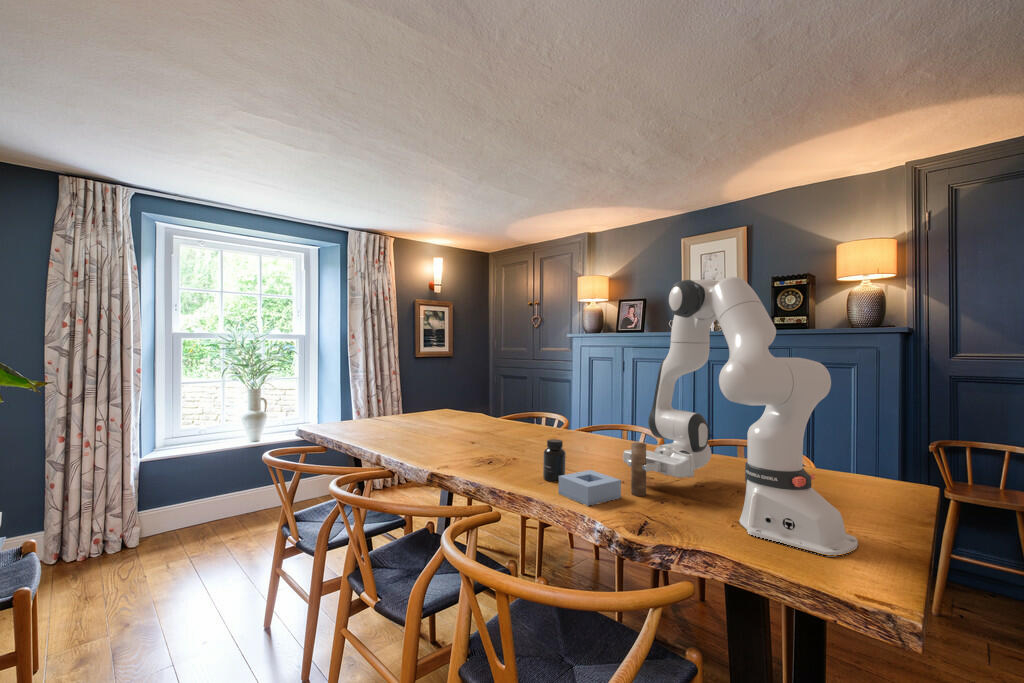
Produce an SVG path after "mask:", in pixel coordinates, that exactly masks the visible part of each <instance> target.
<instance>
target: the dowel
mask: <svg viewBox="0 0 1024 683" xmlns="http://www.w3.org/2000/svg"><path fill="white" fill-rule="evenodd" d="M630 445H631V446H630V447H631V449H630V450H631V473H630V476H631V482H630V483H631V484H630V487H631V489H630V490H631V495H632V496H635V497H645V496H646V495H647V471H644V470H642V468H643V467H642V465H643V464H645V463H646V450H647V443H644V442H638V441H637V442H632V443H630Z"/></svg>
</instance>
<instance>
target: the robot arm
mask: <svg viewBox="0 0 1024 683" xmlns="http://www.w3.org/2000/svg"><path fill="white" fill-rule="evenodd" d="M667 303H668V307H669V309H670V311H671V312H672V314H673V318H672V319H673V320H672V323H671V331H670V346H669V351H668V353H667V355H666V357H665V358H663V360H662V361H661V363H660V365H659V369H658V372H657V373H658V374H657V379H656V385H655V391H654V396H653V402H652V406H651V410H650V413H649V414H648V420H647V424H648V428H649V430H650V432H651V433H652V435H653V436H654V437H656V438H657V439H665V440H670V441H673V442H671V443H665V444H659V445H658V446H657V447H656V448H655V449H654V451H651V450H648V449H646V463H645V464H643V465H642V467H643V468H642V470H644V471H646V472H657V473H660V474H662V475H665V476H671V477H673V478H678V479H681V478H693V477H695V470H698V469H701V468H703V467H704V466H706V465H707V464H708V463H709V461H710V460H711V459H712V458H711V457H712V450H711V447H710V445H709V444H708V443H709V439H710V438H709V437H710V428H709V425H708V422H707V420H706V418H705V417H704V416H703V415H702V414H701V413H697V412H692V411H687V410H680V409H675V408H674V407H673V406H672V403H673V402H672V401H673V396H674V391H675V387H676V386H675V385H676V382H677V381H678V379H679V378H681V377H682V376H684V375H687V374H689V373H694V372H695V371H697V370H699V369H701V368H702V367H704V365H705V364H706V363H707V362H708V359H709V355H710V346H711V345H710V339H711V338H710V334H711V333H710V330H711V325H712V324H713V323H714V322H715V321H717V322H718V325H719V326H720V329H721V332H722V334H723V336H724V338H725V340H726V343H727V346H728V351H729V356H728V360H727V361H726V363H725V364H724V365H723V367H722V368H721V369H720V373H719V376H718V385H719V389H720V391H721V393H722V394H723V396H724V398H726V400H728V401H730V402H732V403H736V404H741V405H745V406H765V409H764V411H763V414H762V415H761V417H760V418H759V419H758V420H757V421H755V422H754V423H752V424H751V425H750V426H749V428H748V429H747V430H748V431H747V434H746V435H747V436H746V437H747V443H746V444H747V446H746V447H747V448H746V450H747V451H746V452H747V456H746V458H747V460H746V462H745V463H744V464H745V465H744V468H745V469H744V477H745V478H744V479H745V480H744V481H745V484H746V488H745V495H744V504H743V507H742V512H741V514H740V518H739V521H738V522H739V524H740V525H741V526H742V527H744V529H745V530H746V533H747V532H748V533H747V534H748V535H749V534H750V535H749V536H751V535H753V536H752V537H755V536H756V538H758V537H760V538H759V539H762V538H764V539H763V540H765V539H768V540H767V541H769V540H772V541H771V542H773V541H776V542H780V543H784V544H787V545H791V546H795V547H798V548H803V549H806V550H810V551H814V552H817V553H821V554H826V555H839V554H844V553H848V552H850V551H852V550H854V549H856V548H857V546H858V547H859V541H858V539H857V537H856V536H854V535H850V534H849V533H846V530H845V523H844V518H843V516H842V513H841V512H840V511H839V510H838V508H836V507H835V506H834V505H832V504H831V503H830V502H829V501H828V500H826V499H825V498H824V497H823V496H822V495H821V494H819V492H817V491H816V490H815V489H814V488H813V487H812V480H815V479H816V478H815V476H816V474H815V473H812V474H809V473H808V472H807V471H806V470H805V468H804V467H803V456H804V454H803V451H804V438H805V437H804V436H805V431H806V428H807V426H808V425H807V424H808V422H809V419H810V418H811V415H812V412H813V411H814V410H815V408H816V407H817V405H819V402H821V401H822V400H823V399H825V398H826V397H827V396H828V394H829V392H830V390H831V387H832V379H831V374H830V372H829V370H828V369H827V367H826V366H825V365H824V364H822V363H821V362H819V361H815V360H812V359H809V358H804V357H803V358H802V357H780V356H779V357H775V356H774V355H773V354H771V352H770V350H769V346H771V345H772V343H773V342H774V340H775V338H776V336H777V335H776V334H777V328H776V326H775V324H774V323H773V320H772V319H771V317H770V315H769V313H768V311H767V309H766V307H765V306H764V304H763V302H762V300H761V298H759V296H758V294H757V292H755V290H754V289H753V288H752V286H750V285H749V283H748V282H747V281H745V279H743V278H741V277H738V276H730V277H729V276H728V277H726V278H723V279H721V280H711V279H693V280H692V279H685V280H684V279H683V280H680V281H677V282H675V283H674V284H673V285H672V286H671V288H670V289H669V293H668V296H667ZM622 455H623V456H622V460H623V463H624V464H627V467H631V449H625V450H624V451H623V454H622ZM776 542H775V543H776ZM780 543H779V544H780ZM787 545H786V546H787ZM791 546H790V547H791ZM798 548H797V549H798ZM857 549H858V548H857ZM857 549H856V550H857Z"/></svg>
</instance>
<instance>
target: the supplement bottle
mask: <svg viewBox="0 0 1024 683" xmlns="http://www.w3.org/2000/svg"><path fill="white" fill-rule="evenodd" d="M563 446H564V445H563V440H561V439H559V438H558V439H556V438H552V439H551V438H550V439H547V441H546V447H547V448H545V449H544V451H543V462H542V463H543V464H542V466H543V471H542V473H543V474H542V475H543V476H542V478H543V479H544V480H545V481H547V482H550V481H559V476H561V475H566V461H567V460H566V458H567V456H566V454H567V453H566V451H565V449H563Z"/></svg>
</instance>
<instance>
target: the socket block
mask: <svg viewBox="0 0 1024 683" xmlns="http://www.w3.org/2000/svg"><path fill="white" fill-rule="evenodd" d="M560 494H561V496H562V495H563V496H562V497H565V496H566V497H565V498H567V497H568V498H567V499H569V498H570V499H569V500H572V499H573V500H572V501H574V500H575V501H574V502H576V501H577V502H576V503H578V502H580V503H579V504H581V503H582V505H583V504H585V505H587V506H586V507H590V506H589V505H592V506H595V505H594V504H596V505H599V504H598V503H600V504H602V503H601V502H604V503H607V502H606V501H609V502H611V501H610V500H613V501H616V500H615V499H617V500H619V498H621V499H622V479H619V478H616V477H614V476H610V475H607V474H604V473H601V472H598V471H595V470H592V469H589V470H583V471H578V472H574V473H573V472H572V473H568V474H566V473H565V475H561V476H559V482H558V495H560ZM585 505H584V506H585Z"/></svg>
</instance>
